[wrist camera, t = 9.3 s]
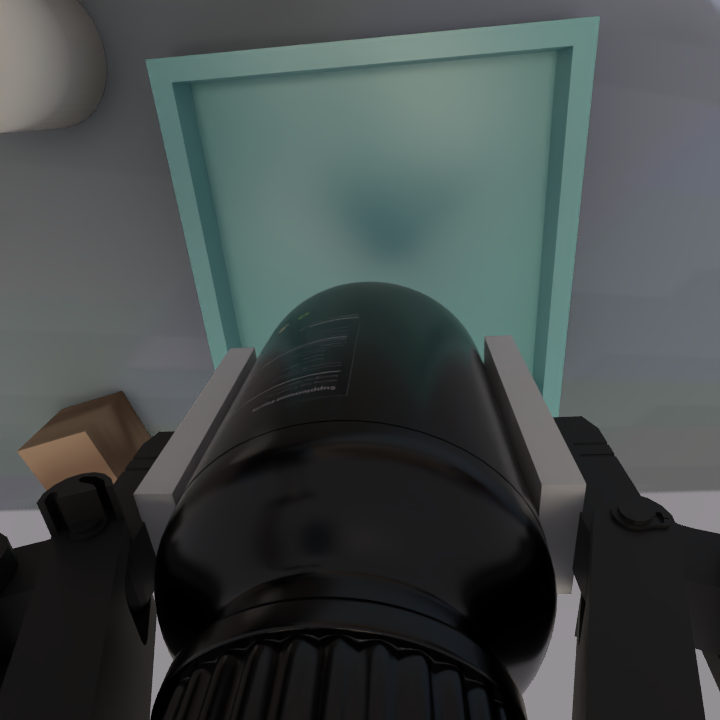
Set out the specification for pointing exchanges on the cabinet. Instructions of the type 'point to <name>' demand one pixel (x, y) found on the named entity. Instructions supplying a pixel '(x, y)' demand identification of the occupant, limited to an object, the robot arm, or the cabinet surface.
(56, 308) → the cabinet surface
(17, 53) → the cream round piece
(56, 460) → the walnut block
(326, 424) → the supplement bottle
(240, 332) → the tray
